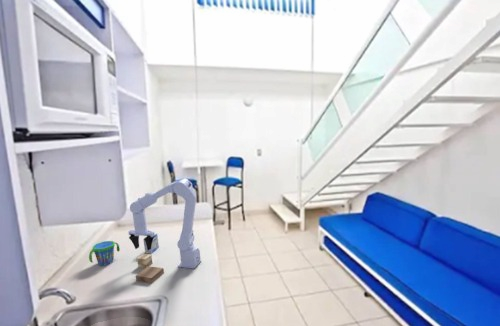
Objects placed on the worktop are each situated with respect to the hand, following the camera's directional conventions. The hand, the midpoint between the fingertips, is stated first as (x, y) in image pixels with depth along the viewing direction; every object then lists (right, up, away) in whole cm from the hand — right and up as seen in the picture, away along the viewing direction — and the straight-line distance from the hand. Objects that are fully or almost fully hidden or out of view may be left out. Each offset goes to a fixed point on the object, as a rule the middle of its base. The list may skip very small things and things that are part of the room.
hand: (143, 248), depth 148 cm
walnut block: (+7, -11, -10) cm, 17 cm away
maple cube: (+1, -9, +1) cm, 9 cm away
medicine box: (-2, -7, +19) cm, 20 cm away
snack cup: (-23, -10, +7) cm, 26 cm away
